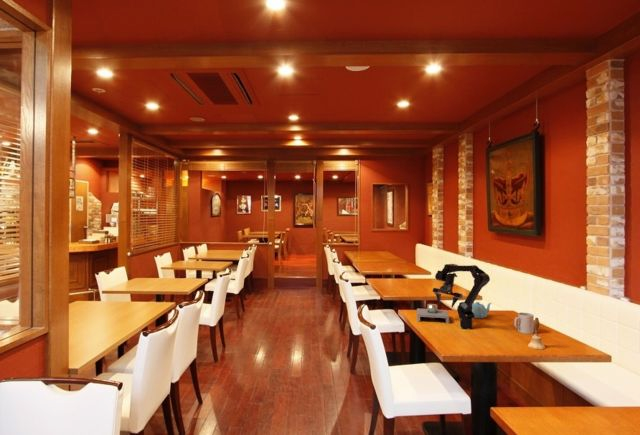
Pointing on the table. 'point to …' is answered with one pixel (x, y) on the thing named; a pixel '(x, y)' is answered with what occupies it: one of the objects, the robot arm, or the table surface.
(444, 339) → the table surface
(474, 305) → the teapot
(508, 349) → the table surface
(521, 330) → the mug
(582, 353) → the table surface
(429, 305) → the grey beige cylinder
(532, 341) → the hand bell
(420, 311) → the base
